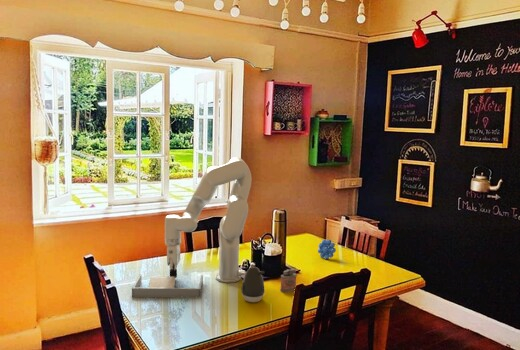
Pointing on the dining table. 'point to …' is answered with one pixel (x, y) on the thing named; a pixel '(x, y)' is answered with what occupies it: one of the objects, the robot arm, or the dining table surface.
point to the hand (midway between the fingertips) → (173, 277)
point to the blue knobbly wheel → (326, 249)
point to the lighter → (288, 281)
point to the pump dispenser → (253, 285)
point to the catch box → (165, 291)
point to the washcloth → (162, 282)
